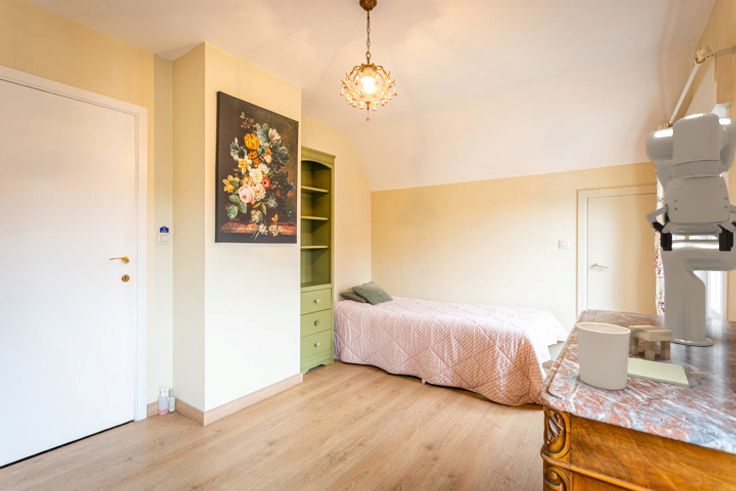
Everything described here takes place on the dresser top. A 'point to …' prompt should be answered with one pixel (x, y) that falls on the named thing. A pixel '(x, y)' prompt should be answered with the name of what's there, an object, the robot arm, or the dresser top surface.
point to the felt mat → (657, 371)
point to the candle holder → (603, 354)
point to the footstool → (650, 340)
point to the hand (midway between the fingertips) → (695, 251)
